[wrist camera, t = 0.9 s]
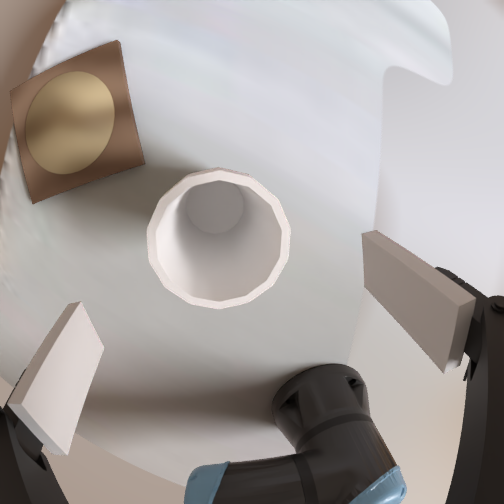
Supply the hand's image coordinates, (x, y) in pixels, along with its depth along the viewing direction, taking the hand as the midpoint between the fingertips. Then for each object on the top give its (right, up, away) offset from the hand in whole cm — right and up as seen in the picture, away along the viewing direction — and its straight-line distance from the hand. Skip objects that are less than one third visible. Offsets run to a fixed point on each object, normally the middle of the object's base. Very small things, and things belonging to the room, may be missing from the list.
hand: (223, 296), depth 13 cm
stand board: (-18, +16, +13) cm, 27 cm away
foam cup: (-3, +7, +19) cm, 20 cm away
